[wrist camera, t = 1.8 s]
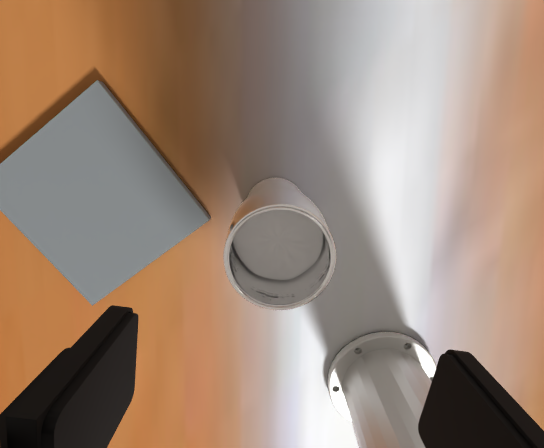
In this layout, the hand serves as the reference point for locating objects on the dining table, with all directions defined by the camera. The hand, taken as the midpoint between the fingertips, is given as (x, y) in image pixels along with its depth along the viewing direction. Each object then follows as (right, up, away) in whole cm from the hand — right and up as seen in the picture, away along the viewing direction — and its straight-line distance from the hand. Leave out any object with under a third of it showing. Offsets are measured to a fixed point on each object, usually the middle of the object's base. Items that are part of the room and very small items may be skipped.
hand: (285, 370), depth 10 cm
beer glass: (0, +6, +24) cm, 24 cm away
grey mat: (-18, +7, +23) cm, 30 cm away
